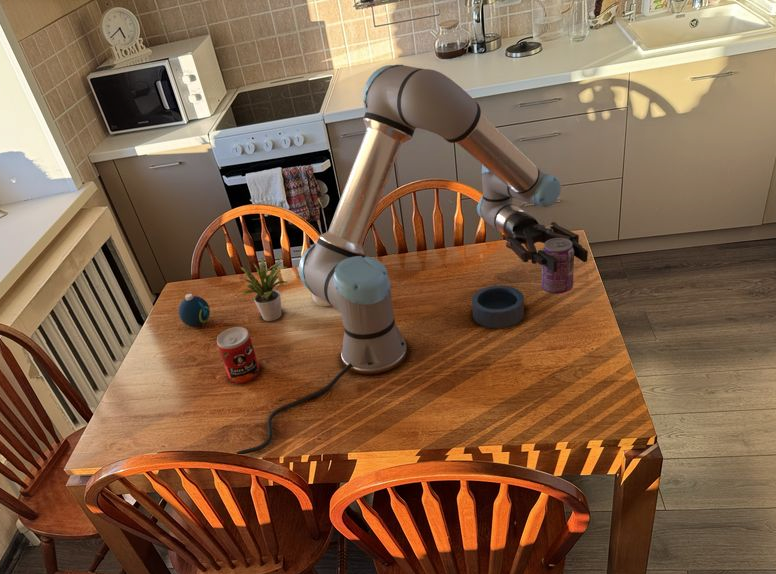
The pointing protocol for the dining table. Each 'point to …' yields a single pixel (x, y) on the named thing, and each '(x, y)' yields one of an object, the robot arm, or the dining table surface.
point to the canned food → (238, 354)
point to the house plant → (266, 291)
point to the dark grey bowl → (498, 306)
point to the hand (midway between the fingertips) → (570, 261)
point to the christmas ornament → (194, 311)
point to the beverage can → (559, 266)
